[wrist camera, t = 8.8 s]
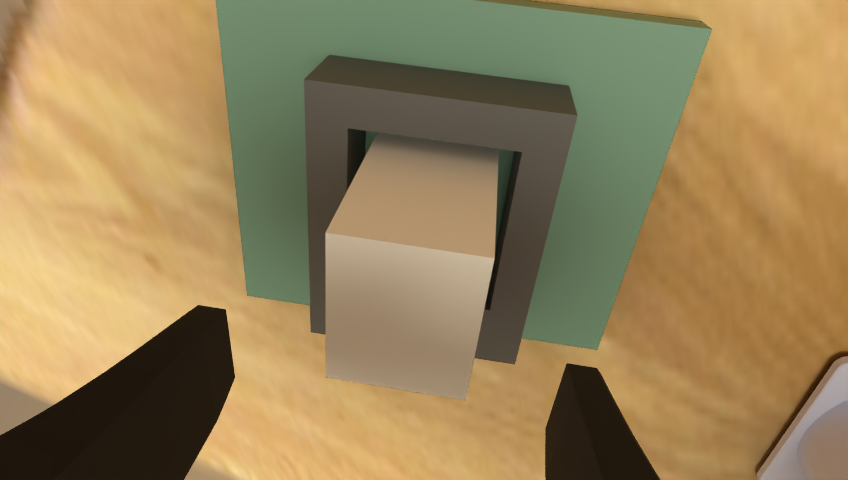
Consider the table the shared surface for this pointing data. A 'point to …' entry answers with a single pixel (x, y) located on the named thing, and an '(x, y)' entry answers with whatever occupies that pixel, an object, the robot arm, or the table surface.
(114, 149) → the table surface
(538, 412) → the table surface
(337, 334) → the keyed plug
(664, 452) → the table surface
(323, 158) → the header board
